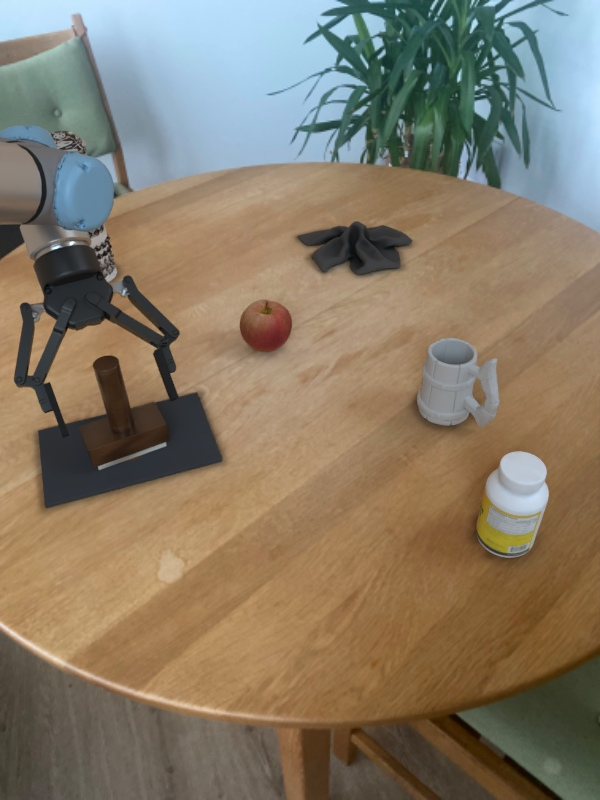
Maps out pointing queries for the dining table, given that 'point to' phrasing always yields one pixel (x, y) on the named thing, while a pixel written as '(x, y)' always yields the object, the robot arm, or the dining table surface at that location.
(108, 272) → the decorative candle
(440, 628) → the dining table surface
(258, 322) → the apple
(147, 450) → the scrub brush
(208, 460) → the stain mat
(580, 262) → the dining table surface
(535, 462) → the pill bottle
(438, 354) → the mug
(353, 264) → the cloth
